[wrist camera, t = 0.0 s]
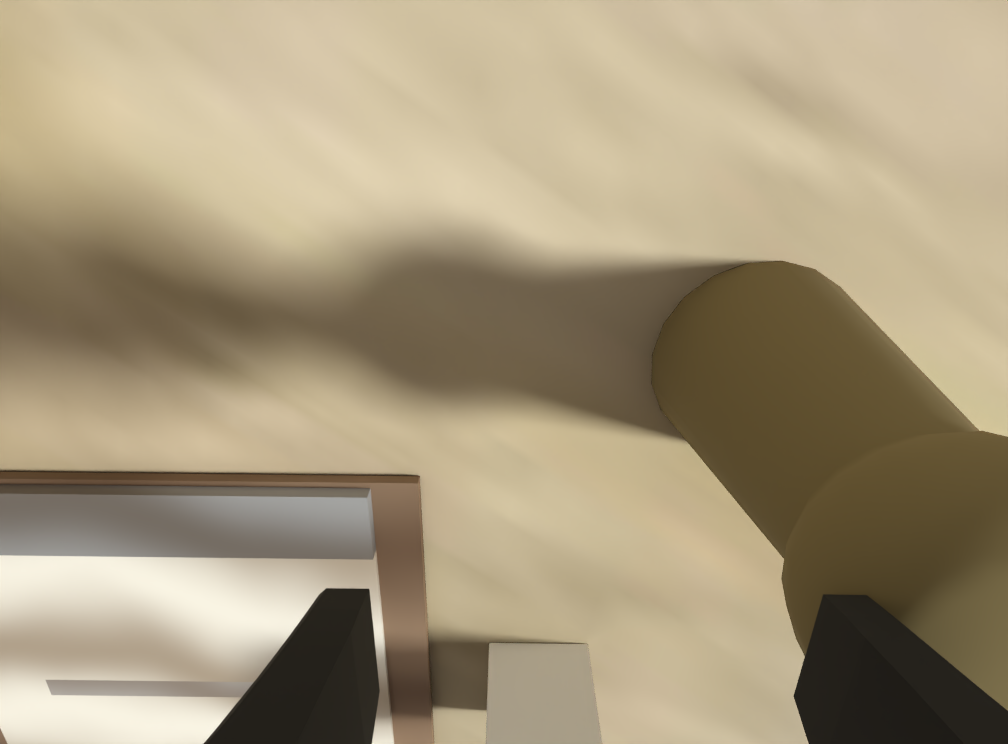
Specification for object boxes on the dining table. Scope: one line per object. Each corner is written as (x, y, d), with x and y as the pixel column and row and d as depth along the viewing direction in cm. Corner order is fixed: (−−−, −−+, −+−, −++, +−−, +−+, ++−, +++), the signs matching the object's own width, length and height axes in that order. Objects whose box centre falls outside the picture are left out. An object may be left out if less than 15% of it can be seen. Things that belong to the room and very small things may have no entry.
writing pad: (437, 796, 27) (434, 818, 26) (11, 791, 27) (-5, 813, 26) (419, 476, 20) (415, 492, 19) (-146, 470, 20) (-174, 486, 19)
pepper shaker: (784, 476, 20) (1059, 865, 10) (615, 410, 19) (731, 765, 9) (905, 310, 18) (1416, 599, 8) (718, 225, 17) (1026, 430, 7)
